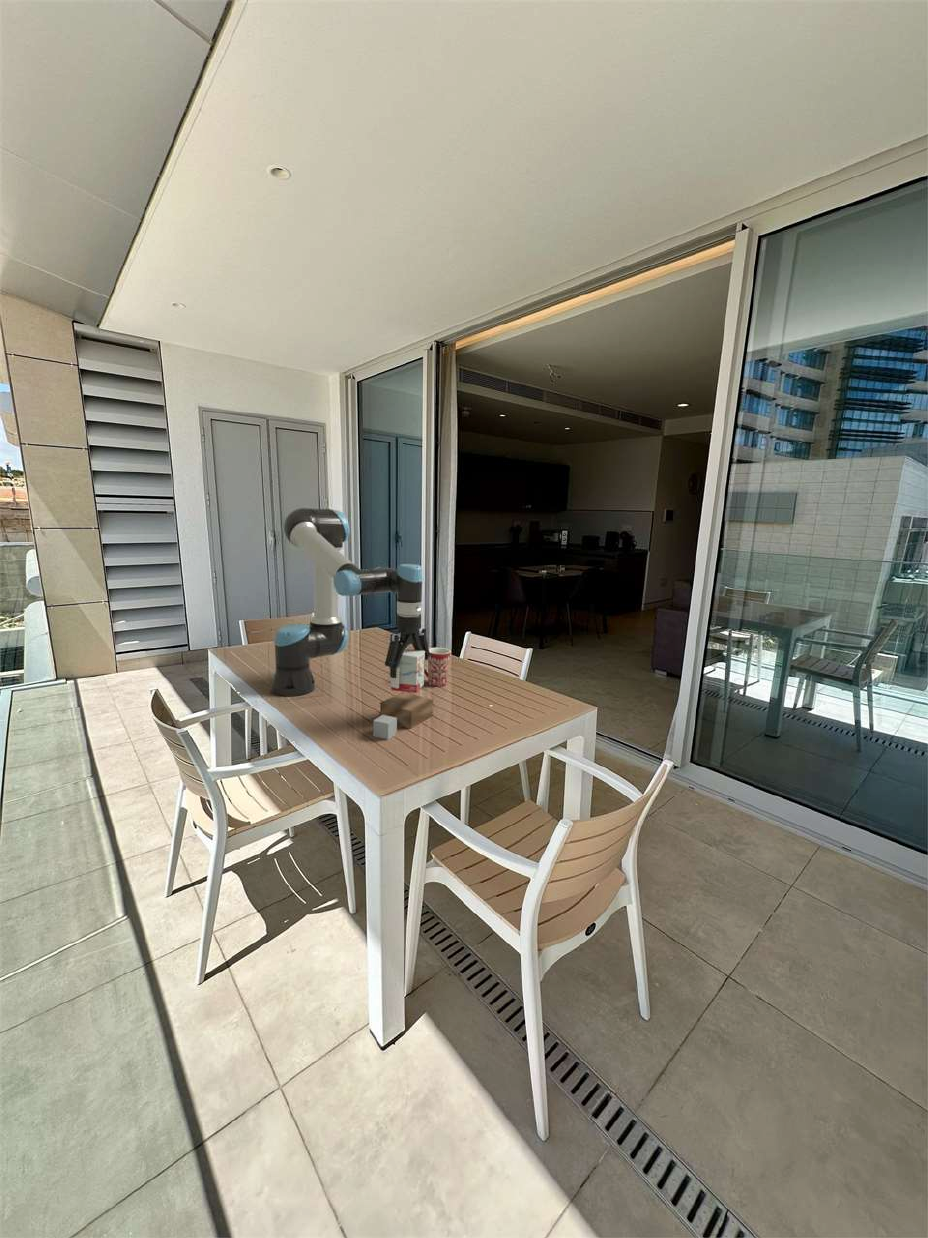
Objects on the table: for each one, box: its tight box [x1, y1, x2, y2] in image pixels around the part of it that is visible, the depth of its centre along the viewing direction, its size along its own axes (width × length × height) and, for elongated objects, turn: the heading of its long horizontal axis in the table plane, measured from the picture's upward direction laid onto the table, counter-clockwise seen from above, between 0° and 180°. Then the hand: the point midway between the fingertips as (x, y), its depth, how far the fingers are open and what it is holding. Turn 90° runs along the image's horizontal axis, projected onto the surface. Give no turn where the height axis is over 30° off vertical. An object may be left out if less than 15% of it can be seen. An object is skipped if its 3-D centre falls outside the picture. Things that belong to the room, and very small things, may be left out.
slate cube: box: [372, 715, 398, 741], centre depth 147 cm, size 5×5×5 cm
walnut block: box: [379, 691, 434, 730], centre depth 160 cm, size 12×12×6 cm
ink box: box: [390, 648, 426, 694], centre depth 158 cm, size 9×9×12 cm
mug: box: [424, 647, 451, 688], centre depth 194 cm, size 13×9×14 cm
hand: (407, 683), depth 158 cm, fingers closed on ink box, 11 cm apart
